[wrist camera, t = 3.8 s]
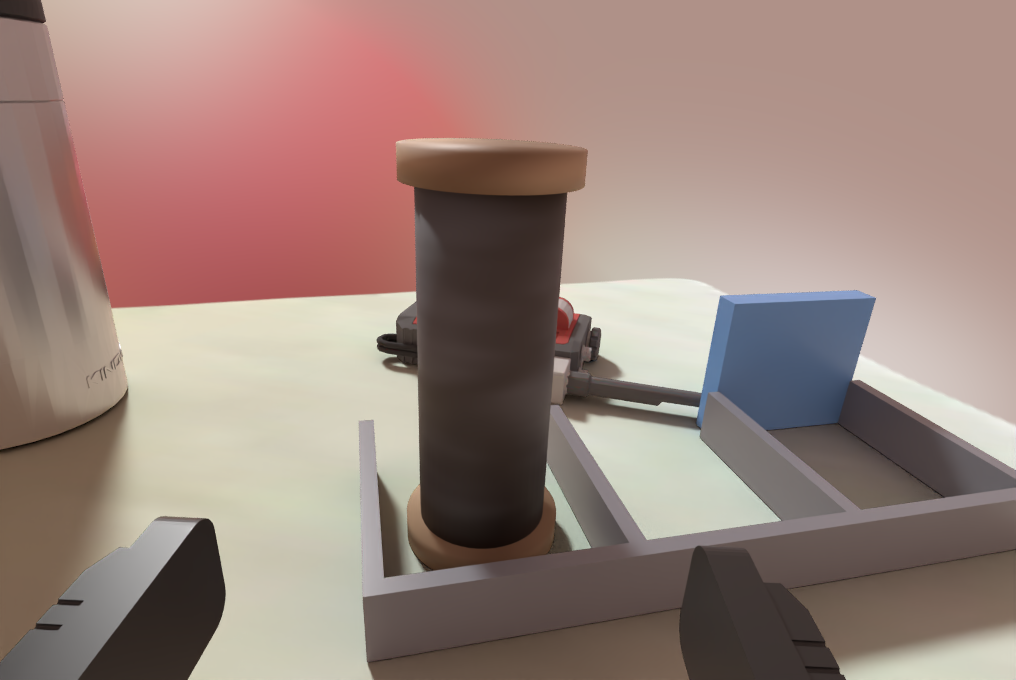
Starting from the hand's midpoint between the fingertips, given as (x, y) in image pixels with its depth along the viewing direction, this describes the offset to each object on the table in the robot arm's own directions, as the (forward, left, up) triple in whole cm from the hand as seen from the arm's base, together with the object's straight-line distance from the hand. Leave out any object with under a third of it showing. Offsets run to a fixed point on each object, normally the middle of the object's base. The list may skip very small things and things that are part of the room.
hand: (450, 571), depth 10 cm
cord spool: (+3, +10, -8) cm, 13 cm away
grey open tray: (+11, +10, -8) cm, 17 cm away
